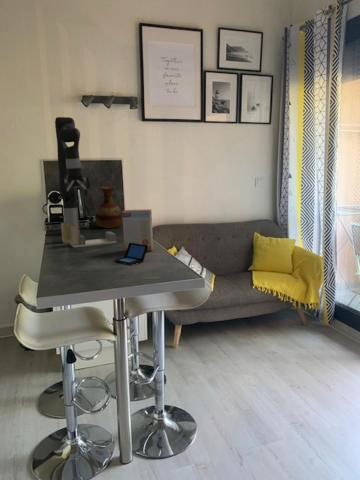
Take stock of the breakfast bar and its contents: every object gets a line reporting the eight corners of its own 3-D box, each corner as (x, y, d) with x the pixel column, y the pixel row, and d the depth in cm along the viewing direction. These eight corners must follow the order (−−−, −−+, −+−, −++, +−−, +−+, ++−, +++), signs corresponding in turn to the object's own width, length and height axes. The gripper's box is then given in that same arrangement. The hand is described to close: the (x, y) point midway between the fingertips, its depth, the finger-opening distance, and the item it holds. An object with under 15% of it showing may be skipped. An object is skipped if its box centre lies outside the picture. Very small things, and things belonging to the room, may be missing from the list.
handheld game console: (112, 262, 173) (111, 246, 172) (130, 257, 181) (129, 242, 180) (131, 266, 165) (130, 249, 164) (149, 261, 174) (148, 245, 172)
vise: (69, 243, 219) (69, 235, 218) (110, 239, 229) (110, 231, 228) (73, 247, 208) (72, 238, 207) (116, 242, 218) (116, 234, 217)
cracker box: (153, 249, 198) (151, 208, 194) (151, 251, 192) (149, 210, 188) (127, 249, 199) (124, 209, 196) (124, 251, 194) (122, 210, 190)
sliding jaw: (70, 241, 219) (69, 224, 217) (81, 240, 221) (79, 223, 219) (74, 245, 208) (73, 227, 206) (85, 244, 210) (84, 226, 209)
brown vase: (95, 230, 267) (92, 186, 261) (95, 225, 286) (93, 185, 281) (123, 228, 271) (121, 185, 265) (122, 224, 290) (120, 184, 285)
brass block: (62, 241, 227) (60, 223, 225) (70, 240, 229) (69, 222, 227) (63, 242, 222) (62, 224, 220) (72, 242, 225) (70, 223, 223)
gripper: (86, 165, 210) (90, 194, 215) (60, 167, 206) (64, 197, 211) (87, 166, 203) (91, 196, 208) (59, 168, 199) (64, 199, 204)
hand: (77, 196), depth 209 cm, fingers open, 8 cm apart
